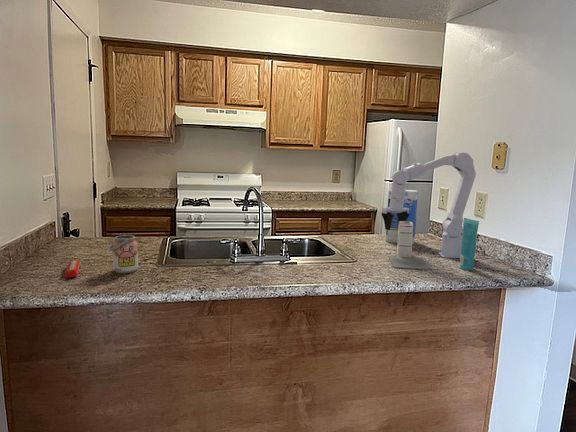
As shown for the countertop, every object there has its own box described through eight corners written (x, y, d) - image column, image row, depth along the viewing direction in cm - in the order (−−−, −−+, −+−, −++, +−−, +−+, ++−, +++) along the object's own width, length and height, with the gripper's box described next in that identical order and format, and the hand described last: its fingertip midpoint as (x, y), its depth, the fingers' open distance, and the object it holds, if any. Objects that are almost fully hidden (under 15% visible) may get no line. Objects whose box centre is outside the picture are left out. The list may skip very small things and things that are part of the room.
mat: (422, 259, 168) (422, 257, 168) (432, 270, 152) (432, 268, 152) (388, 257, 169) (388, 256, 169) (394, 268, 153) (394, 266, 153)
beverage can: (110, 275, 136) (109, 240, 134) (109, 268, 143) (107, 235, 141) (140, 272, 140) (138, 238, 138) (136, 266, 147) (135, 233, 145)
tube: (478, 270, 153) (483, 220, 150) (469, 271, 151) (474, 221, 148) (462, 265, 160) (467, 217, 157) (453, 266, 158) (458, 218, 155)
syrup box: (411, 258, 169) (414, 224, 166) (397, 257, 170) (399, 223, 167) (410, 253, 174) (412, 221, 171) (396, 253, 176) (398, 220, 172)
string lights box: (414, 242, 200) (418, 190, 196) (412, 245, 193) (416, 191, 189) (387, 239, 206) (391, 188, 202) (384, 241, 199) (388, 189, 195)
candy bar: (69, 267, 145) (68, 259, 144) (80, 266, 146) (80, 258, 146) (64, 280, 130) (64, 271, 130) (77, 279, 132) (77, 270, 131)
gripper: (401, 196, 181) (398, 226, 183) (378, 197, 173) (375, 228, 175) (414, 199, 175) (410, 229, 177) (390, 199, 167) (386, 231, 169)
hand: (393, 229), depth 176 cm, fingers open, 7 cm apart
